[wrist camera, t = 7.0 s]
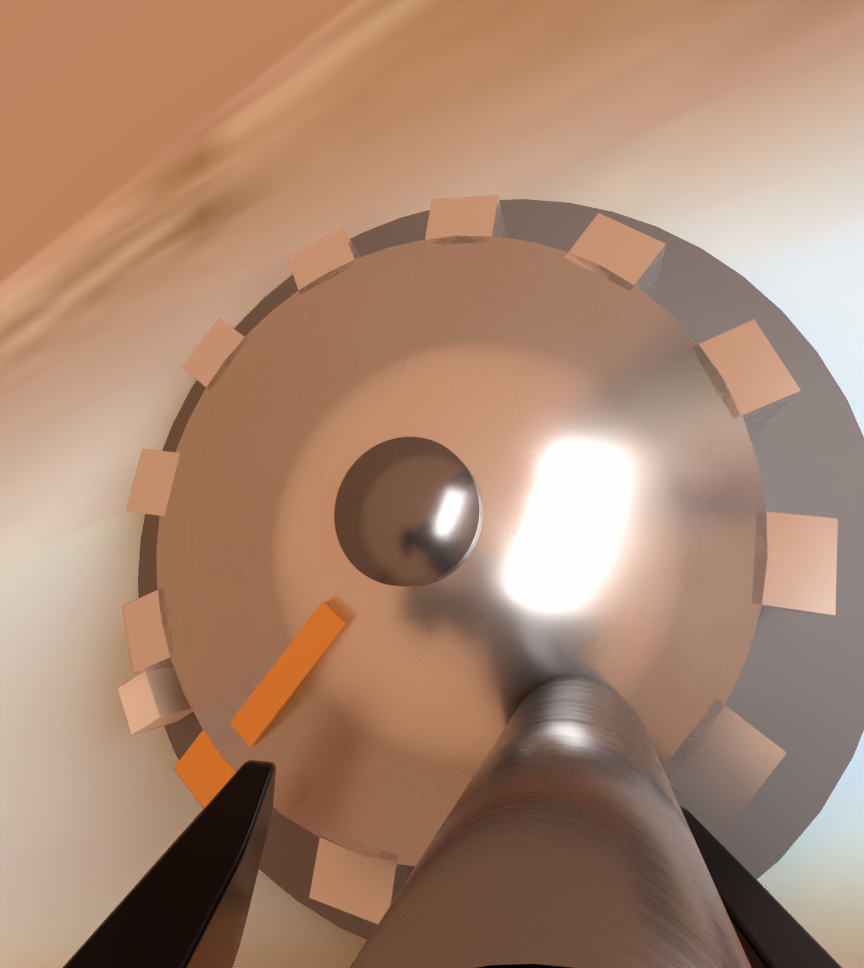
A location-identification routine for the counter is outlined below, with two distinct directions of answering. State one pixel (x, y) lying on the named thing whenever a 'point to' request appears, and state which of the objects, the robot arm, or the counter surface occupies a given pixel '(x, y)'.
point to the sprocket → (482, 589)
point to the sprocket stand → (778, 635)
